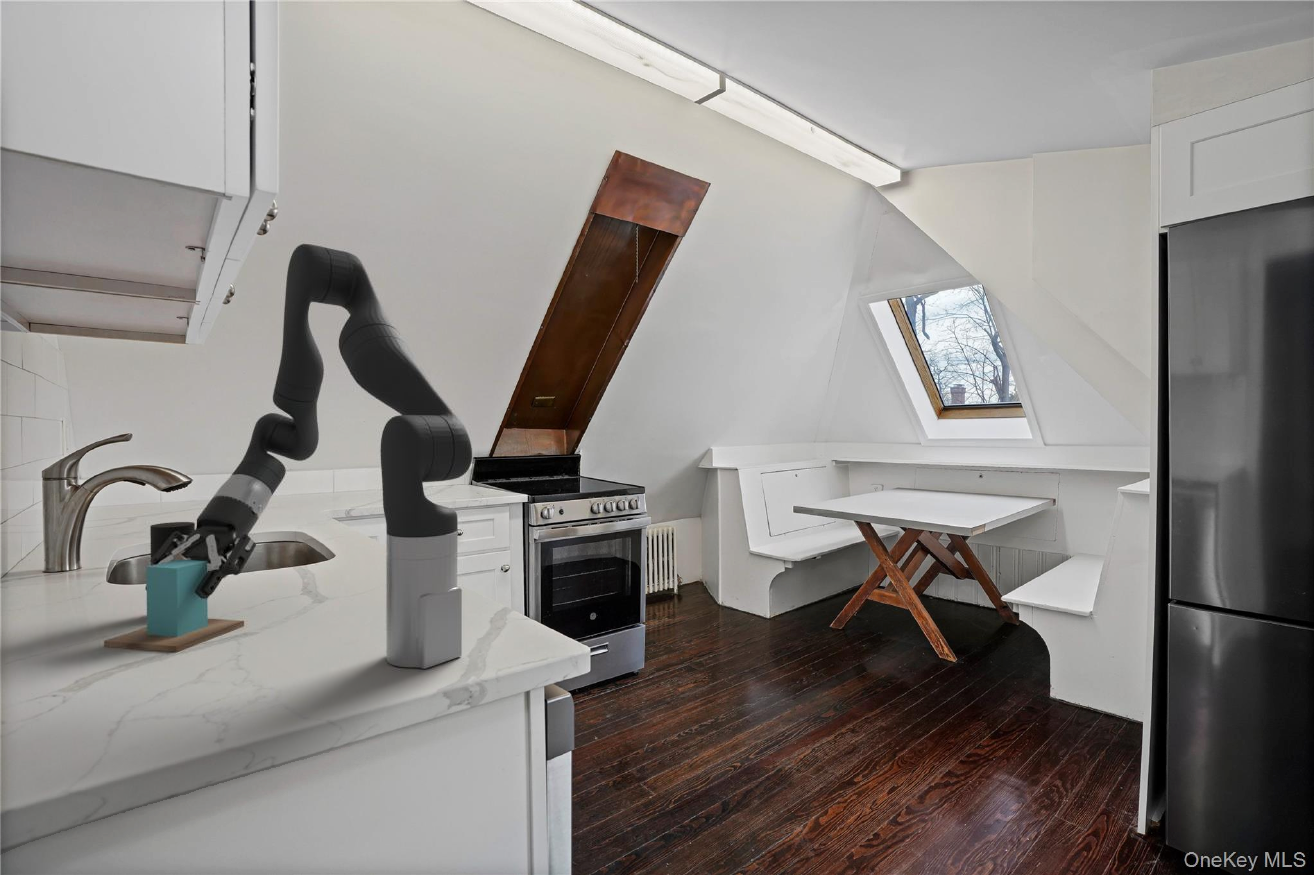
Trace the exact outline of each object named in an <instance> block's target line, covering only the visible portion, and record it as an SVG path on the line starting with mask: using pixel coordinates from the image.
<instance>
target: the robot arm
mask: <svg viewBox="0 0 1314 875" xmlns="http://www.w3.org/2000/svg"><path fill="white" fill-rule="evenodd" d="M286 272H287V274H286V285H285V295H284V296H285V298H284V308H283V309H284V311H283V314H284V315H283V329H282V348H281V356H280V361H279V367H278V371H277V372H278V373H277V376H276V380H275V385H274V389H273V394H272V402H273V405H275V406H276V407H277V408H278V409H279V410H280V411H282V412H284V413H285V414H287V415H289V416H290V417H288V416H287V415H283V414H280V413H275V412H270V413H267V414H264V415H262V416H261V417H259V419H258V420H257V421H256V423H255V425H254V428H253V431H252V433H251V434H252V435H251V437H250V438H251V439H250V441H249V444H248V447H247V449H246V451H245V455H244V456H243V458H242V460H241V462H240V463H239V464H238V466H237V467H236V469H234V471H233V472H232V474H231V475H230V476H229V478H227V480H226V481H225V482H223V484H222V485H221V486H220V487H219V488H218V490H217V491H216V492H215V494H213V497H212V498H211V499H210V500H209V502H208V503H207V504H206V506H205V507H204V509H203V510H202V511H201V513H200V514H199V515H198V517H197V519H196V527H195V530H194V531H193V532H192V533H191V534H190V535H182V534H181V533H180V532H179V531H175V532H173V533H172V534H171V536H170V537H169V538H168V539H167V541H166V542H165V543H164V544H163V545H162V547H161V548H160V549H159V550H158V551H157V553H156V554H155V555H154V556H153V557H152V559H151V558H150V564H151V563H152V564H154V565H156V564H161V563H165V562H170V561H174V560H196V561H207V565H208V564H209V565H210V566H211V570H208V569H207V573H206V575H205V576H204V578H203V579H202V581H201V582H200V584H199V585H198V587H197V588H196V590H195V594H197V595H198V596H199V597H200V598H202V599H207V600H208V599H209V597H210V596H212V594H214V593H215V591H216V589H217V588H218V587H219V585H220V583H221V581H222V580H223V579H226V578H228V576H229V575H234V576H237V575H239V574H241V573H242V571H243V569H244V568H245V566H246V564H247V562H248V560H249V559H250V557H251V555H252V553H253V552H254V550H255V549H256V546H257V543H256V542H255V541H254V540H253V539H252V538H251V537H250V536H249V534H250V532H251V531H252V529H253V528H254V526H255V525H256V524H257V521H259V519H260V517H261V516H262V514H263V513H264V512H265V509H266V508H267V507H268V506H267V505H268V504H269V502H270V500H271V499H272V496H273V495H274V493H275V492H276V490H277V489H278V487H279V486H280V484H281V483H282V481H283V480H284V479H285V475H286V474H287V473H286V467H285V465H284V463H283V462H281V460H280V459H278V458H277V457H275V456H273V455H272V454H274V455H278V456H281V457H284V458H287V459H290V460H293V461H298V462H303V461H306V460H307V459H309V458H311V457H312V455H314V454H315V452H316V451H317V448H318V445H319V438H320V437H319V436H320V435H319V433H320V432H319V425H318V400H319V396H320V393H321V392H320V391H321V388H322V384H323V380H324V375H325V372H324V371H325V367H324V361H323V357H322V355H321V352H320V350H319V348H318V345H317V343H316V340H315V337H314V336H313V334H312V331H311V328H310V322H309V311H310V306H311V303H317V304H325V305H332V306H338V307H341V308H343V309H345V310H346V311H347V312H348V314H349V317H348V318H347V320H346V321H345V323H344V325H343V327H342V329H341V330H340V334H339V337H338V349H339V353H340V356H341V357H342V360H343V361H344V363H345V366H346V367H347V369H348V372H349V373H350V375H351V376H352V378H353V379H354V381H355V383H357V384H358V386H359V387H360V388H362V390H364V391H365V392H367V393H368V394H369V395H370V396H372V397H373V398H374V399H377V400H378V401H380V402H381V403H383V404H384V405H385V406H388V407H390V408H391V409H393V410H394V411H395V412H397V413H398V414H400V415H395V416H393V417H391V418H389V420H388V421H387V422H386V424H385V425H384V427H383V430H382V432H381V433H382V434H381V439H380V469H381V471H380V472H381V482H382V507H383V513H384V518H385V523H386V525H385V526H386V528H385V530H386V539H385V540H386V543H385V544H386V559H385V560H386V563H385V564H386V567H385V568H386V569H385V570H386V574H385V575H386V577H385V578H386V579H385V580H386V581H385V582H386V583H385V585H386V587H385V589H386V590H385V592H386V595H385V596H386V598H385V599H386V603H385V604H386V609H385V610H386V621H385V623H386V626H385V627H386V630H385V631H386V661H387V663H388V664H390V665H392V666H396V667H400V668H401V667H403V668H420V669H423V670H424V669H429V668H430V667H434V666H437V665H440V664H442V663H445V662H448V661H450V660H453V659H456V658H458V657H462V655H463V653H462V650H463V649H462V647H463V646H462V641H463V636H462V635H463V634H462V632H463V631H462V630H463V629H462V628H463V627H462V626H463V623H462V621H463V620H462V618H463V614H462V612H463V610H462V608H463V590H462V588H461V587H459V586H458V533H459V532H458V530H459V529H458V528H459V527H458V524H459V523H458V522H459V520H458V513H457V512H456V510H454V509H453V508H451V507H447V506H443V505H439V504H437V503H434V502H433V501H431V500H430V499H428V498H427V497H426V495H425V492H424V485H423V484H424V483H435V482H445V481H451V480H455V479H459V478H461V477H463V476H464V475H465V474H466V473H467V472H469V470H470V467H471V465H472V461H473V460H472V459H473V448H472V443H471V439H470V436H469V434H468V432H467V429H466V427H465V425H464V424H463V422H462V421H461V419H460V418H459V416H458V415H457V414H456V413H455V411H453V409H452V408H451V406H450V405H448V403H447V402H446V401H445V399H444V398H443V397H442V396H441V394H439V392H438V391H437V389H435V387H434V385H433V384H432V383H431V381H430V380H429V378H428V377H427V376H426V373H424V370H423V369H422V367H420V365H419V363H418V362H417V360H416V358H415V357H414V356H413V353H412V351H411V350H410V347H409V346H408V344H407V343H406V341H405V340H404V338H403V336H402V335H401V333H400V331H399V330H398V328H397V326H395V325H394V323H393V321H392V320H391V318H390V316H389V314H388V313H387V310H386V309H385V307H384V306H383V304H382V303H383V302H382V301H381V300H380V298H379V296H378V293H377V291H376V289H375V286H374V284H373V281H372V280H371V277H370V275H369V273H368V271H367V268H366V267H365V264H364V263H363V262H362V260H361V259H360V258H359V257H358V256H357V255H355V254H353V253H351V252H347V251H344V250H338V249H335V248H334V249H333V248H328V247H324V246H321V245H314V244H310V243H302V244H299V245H298V246H297V247H296V248H294V250H293V251H292V254H291V257H290V259H289V263H288V267H287V271H286ZM268 452H269V453H268ZM270 453H272V454H270ZM185 551H186V555H187V556H188V557H189V558H185V557H183V556H182V555H181V554H182V553H184V552H185ZM165 554H166V555H167V557H166V558H165V559H162V558H163V556H164V555H165ZM144 589H145V591H146V592H147V583H146V584H145V588H144Z"/></svg>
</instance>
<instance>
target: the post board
mask: <svg viewBox="0 0 1314 875" xmlns="http://www.w3.org/2000/svg"><path fill="white" fill-rule="evenodd" d="M244 626H245V620H237V619H234V620H233V619H222V618H208V626H206V627H204V628H201V629H198V630H195V631H192V632H190V633H187V634H184V635H181V636H178V637H173V636H160V635H147V626H145V627H142V628H139V629H136V630H133V631H130V632H127V633H122V634H120V635H118V636H115V637H111V638H108V639H106V640H103V647H105V648H106V647H107V648H108V647H109V648H121V649H132V650H147V651H148V650H149V651H159V652H175V653H177V652H180V651H183V650H186V649H188V648H190V647H193V646H196V645H199V644H201V643H204V642H206V641H208V640H209V641H210V640H211V639H214V638H216V637H219V636H222V635H224V634H228V633H230V632H231V631H234V630H238V629H241V628H242V627H244Z"/></svg>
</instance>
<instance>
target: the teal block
mask: <svg viewBox="0 0 1314 875" xmlns="http://www.w3.org/2000/svg"><path fill="white" fill-rule="evenodd" d="M145 570H146V574H145V575H146V584H147V591H146V627H147V635H160V636H173V637H178V636H181V635H184V634H187V633H190V632H192V631H195V630H198V629H201V628H204V627H206V626H208V619H209V618H208V609H209V608H208V598H207V599H202V598H200V597H199V596H198V595H197V594H195V590H196V588H197V587H198V585H199V584H200V582H201V581H202V579H203V578H204V576H205V575H206V573H207V572H208V563H207V561H196V560H174V561H170V562H165V563H161V564H156V565H152V566H151V565H148V566H146V569H145Z"/></svg>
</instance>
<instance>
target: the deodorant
mask: <svg viewBox="0 0 1314 875" xmlns="http://www.w3.org/2000/svg"><path fill="white" fill-rule="evenodd" d="M195 526H196V522H193V521H174V522H162V523H161V522H160V523H155V524H151V525H150V529H149V532H150V535H149V536H150V537H149V538H150V560H151V559H152V557H153V556H154V555H155V554H156V553H157V551H158V550H159V549H160V548H161V547H162V545H163V544H164V543H165V542H166V541H167V539H168V538H169V537H170V536H171V534H172V533H173V532H175V531H179V532H180V533H181V534H182V535H190V534H191V533H192V532H193V531H194V530H195V529H196V527H195ZM181 555H182V556H183V557H185V558H189V557H188V556H187V555H186V551H185V552H184V553H182V554H181ZM166 557H167V555H166V554H165V555H164V556H163V558H162V559H165V558H166ZM152 565H154V564H152V563H151V562H150V566H152Z"/></svg>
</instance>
